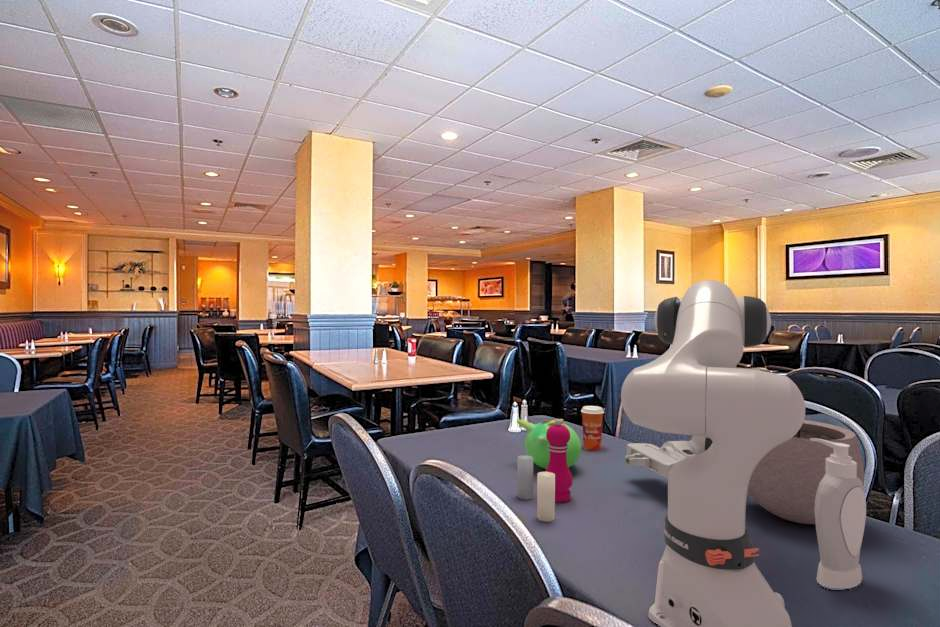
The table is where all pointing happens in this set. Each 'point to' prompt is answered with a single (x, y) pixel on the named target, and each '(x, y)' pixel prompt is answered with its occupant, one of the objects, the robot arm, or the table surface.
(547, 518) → the cream post
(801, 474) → the plant pot
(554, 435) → the pepper mill
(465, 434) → the table surface
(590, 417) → the paper cup
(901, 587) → the table surface
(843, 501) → the soap bottle
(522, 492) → the slate post
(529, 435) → the toy bird
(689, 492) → the robot arm
